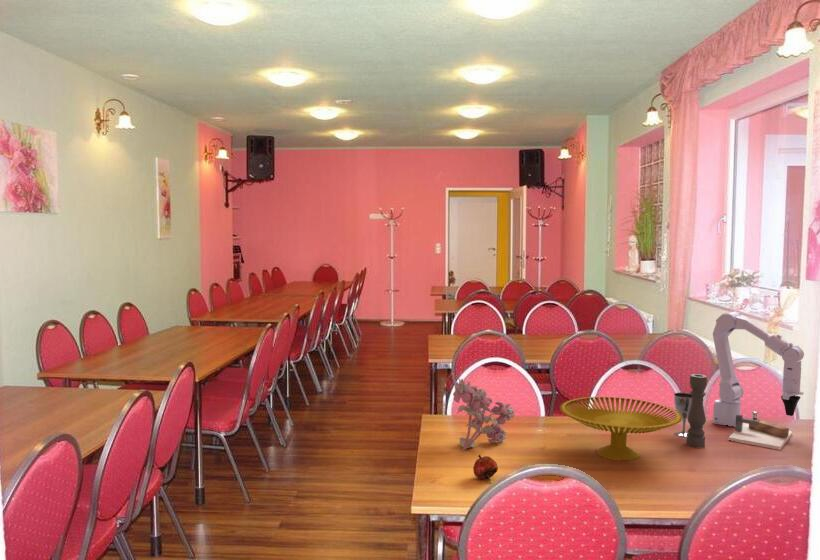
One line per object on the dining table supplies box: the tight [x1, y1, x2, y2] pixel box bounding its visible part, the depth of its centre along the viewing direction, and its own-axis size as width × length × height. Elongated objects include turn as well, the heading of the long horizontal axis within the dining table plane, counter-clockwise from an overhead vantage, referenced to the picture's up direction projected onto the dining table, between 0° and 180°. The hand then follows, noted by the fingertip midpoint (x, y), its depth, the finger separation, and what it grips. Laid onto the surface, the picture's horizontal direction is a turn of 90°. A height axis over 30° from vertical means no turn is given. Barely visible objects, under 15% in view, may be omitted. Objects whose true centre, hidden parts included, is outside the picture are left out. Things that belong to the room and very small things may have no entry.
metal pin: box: [751, 410, 760, 420], centre depth 270 cm, size 2×2×3 cm
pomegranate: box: [472, 454, 499, 484], centre depth 217 cm, size 7×7×10 cm
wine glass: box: [673, 391, 692, 438], centre depth 265 cm, size 8×8×15 cm
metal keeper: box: [734, 413, 760, 432], centre depth 265 cm, size 8×2×6 cm, turn 53°
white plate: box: [728, 423, 793, 451], centre depth 263 cm, size 17×23×1 cm
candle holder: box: [685, 373, 708, 448], centre depth 252 cm, size 6×6×25 cm
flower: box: [452, 378, 517, 452], centre depth 249 cm, size 20×22×25 cm
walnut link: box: [748, 418, 790, 437], centre depth 265 cm, size 15×4×3 cm, turn 28°
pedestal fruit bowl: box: [559, 396, 683, 461], centre depth 242 cm, size 40×40×15 cm
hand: (789, 415), depth 264 cm, fingers closed
